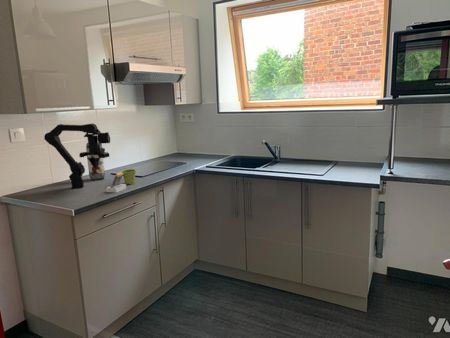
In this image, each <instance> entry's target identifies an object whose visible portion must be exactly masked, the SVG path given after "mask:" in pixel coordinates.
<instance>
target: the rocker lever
mask: <svg viewBox="0 0 450 338" xmlns="http://www.w3.org/2000/svg"><path fill="white" fill-rule="evenodd" d="M122 178H123V173H122V172H117V173H115V176H114V179H113V181H112V185H113V186H115V185H118V184H119V183H120V184H121V180H122Z"/></svg>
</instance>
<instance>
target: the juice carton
mask: <svg viewBox="0 0 450 338" xmlns="http://www.w3.org/2000/svg"><path fill="white" fill-rule="evenodd" d="M102 144H103V143H102ZM102 144H100V142H98V145H100V147H101V148H103V145H102ZM87 146H88V142H86V144H85V148H86V149H85V150H86V151H85V152H89V148H87ZM94 157H95V156H94ZM87 158H88V156H86V159H87ZM104 159H105V158H100V159H99V161H98V165H97V168H94V167H93V165H92V163H91V162H90V161H89V159H87V168H88V176H89V178H90V180H91V181H102V180H104V179H105V176H106V170H105V169H106V168H105V161H104Z"/></svg>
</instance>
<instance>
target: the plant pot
mask: <svg viewBox="0 0 450 338" xmlns="http://www.w3.org/2000/svg"><path fill="white" fill-rule="evenodd" d="M121 172H122V173H123V175H122V177H123V180H124V184H126V185H134V184H135V183H136V172H137V170H136V169H124V170H121Z"/></svg>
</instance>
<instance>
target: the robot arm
mask: <svg viewBox="0 0 450 338" xmlns="http://www.w3.org/2000/svg"><path fill="white" fill-rule="evenodd" d="M62 132H81V133H85V134H84V135H83V138H87V143H88V146H87V148H89V152H87V151H83V152H82V151H81V152H79V158H84V157H86V159H89V161H90V162H91V163H92V165H93V167H94V168H97V165H98V161H99V159H100V158H104V159H106V158H110V153H109V152H106V148H104V147H102V148H101V147H100V145H98V142H100V144H110V143H111V136H110V133H109V132H101V131H100V130H99V129H98V126H97V124H95V123H93V122H92V123H87V124H62V123H60V124H57V125H56V126H55V127H54V128H53V129H52V130H50V131H49V132H47V133H45V134H44V138H43V140H44V141H45V142H47V143H48V144H49V145H50V146H52V147H53V148H55V150H56V151H57V153H58V154H59V155H60V156H61V158H63V159H64V161H65V162H66V163H67V165H68V166H69V170H70V172H71V173H70V175H69V176H68V177H69V179H70V181H71V190H72V189H73V190H75V189H81V188H84V186H85V185H84V179H83V178H82V177H83V175H84V174H85V172H86V168H85V165H83V163H82V161H79V162H78V161H76V160H75V159H74V157H73V156H72V155H71V154H70V152H69V151H68V149H66V147H65V146H64V145H63V144H62V141H61V138H60V135H61V134H62ZM87 156H88V158H87ZM94 156H95V157H94Z"/></svg>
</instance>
